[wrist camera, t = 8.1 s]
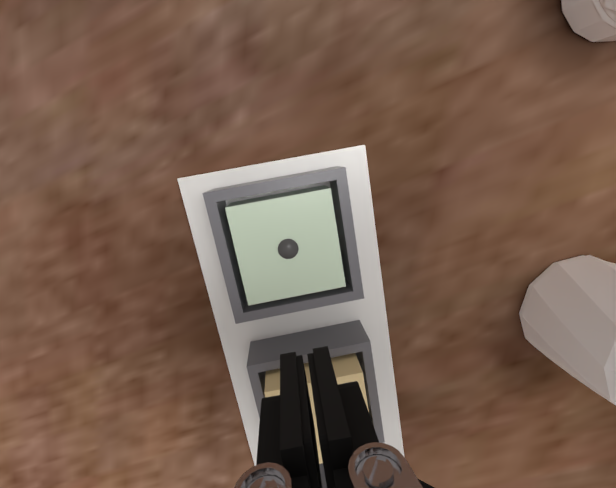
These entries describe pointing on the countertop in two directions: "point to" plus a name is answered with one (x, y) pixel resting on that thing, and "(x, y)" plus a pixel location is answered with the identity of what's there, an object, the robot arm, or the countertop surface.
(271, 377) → the button
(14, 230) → the countertop surface
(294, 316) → the button panel
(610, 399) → the vase
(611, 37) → the white cup
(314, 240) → the button
